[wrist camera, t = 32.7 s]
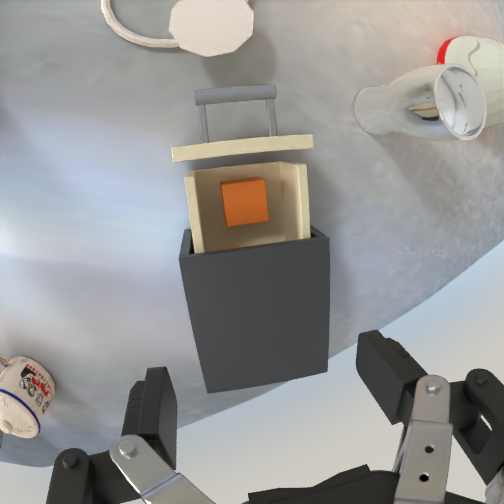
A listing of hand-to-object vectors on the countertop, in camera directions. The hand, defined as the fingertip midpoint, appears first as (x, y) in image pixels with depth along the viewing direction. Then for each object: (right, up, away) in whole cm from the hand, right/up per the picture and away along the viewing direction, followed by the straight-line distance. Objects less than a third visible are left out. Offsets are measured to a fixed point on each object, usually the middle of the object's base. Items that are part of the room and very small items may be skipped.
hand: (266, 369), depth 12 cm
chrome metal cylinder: (+14, +21, +21) cm, 33 cm away
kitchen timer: (+31, +30, +21) cm, 48 cm away
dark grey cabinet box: (-1, +1, +25) cm, 25 cm away
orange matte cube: (-2, +10, +20) cm, 22 cm away
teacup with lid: (-35, -13, +25) cm, 44 cm away
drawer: (-2, +12, +21) cm, 24 cm away
